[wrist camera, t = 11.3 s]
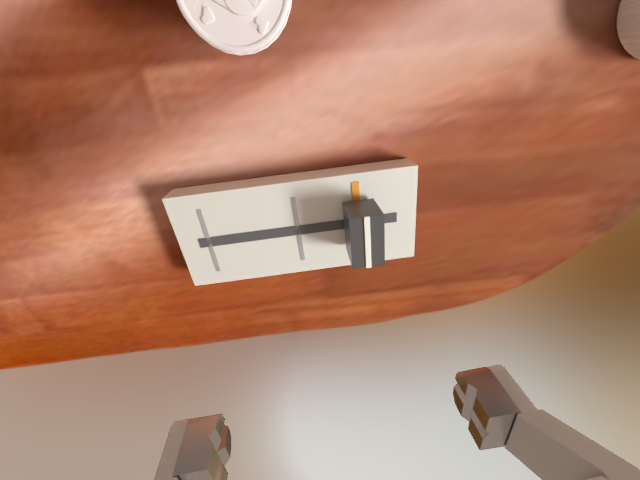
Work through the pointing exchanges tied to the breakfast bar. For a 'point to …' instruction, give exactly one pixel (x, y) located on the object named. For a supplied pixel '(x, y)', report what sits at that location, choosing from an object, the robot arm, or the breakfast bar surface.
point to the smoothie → (237, 22)
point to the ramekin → (629, 26)
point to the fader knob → (364, 233)
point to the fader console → (288, 220)
